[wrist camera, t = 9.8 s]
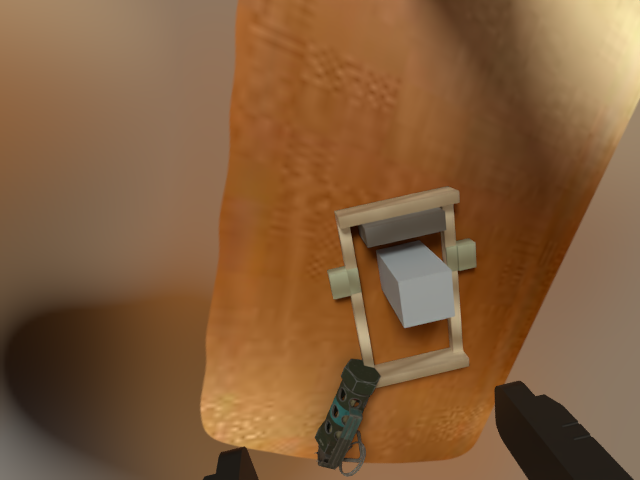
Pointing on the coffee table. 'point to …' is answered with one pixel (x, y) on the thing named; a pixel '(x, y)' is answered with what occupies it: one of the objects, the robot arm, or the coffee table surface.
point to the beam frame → (395, 225)
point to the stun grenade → (346, 416)
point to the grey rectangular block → (416, 283)
